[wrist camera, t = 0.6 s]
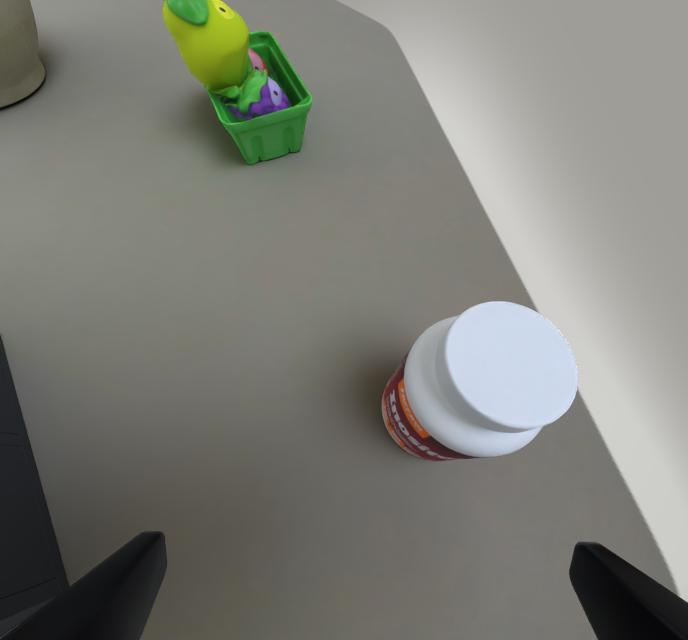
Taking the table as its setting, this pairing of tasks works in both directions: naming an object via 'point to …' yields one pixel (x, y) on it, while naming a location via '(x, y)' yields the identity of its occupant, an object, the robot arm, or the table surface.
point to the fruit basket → (241, 77)
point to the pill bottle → (480, 384)
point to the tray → (22, 520)
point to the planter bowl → (18, 52)
